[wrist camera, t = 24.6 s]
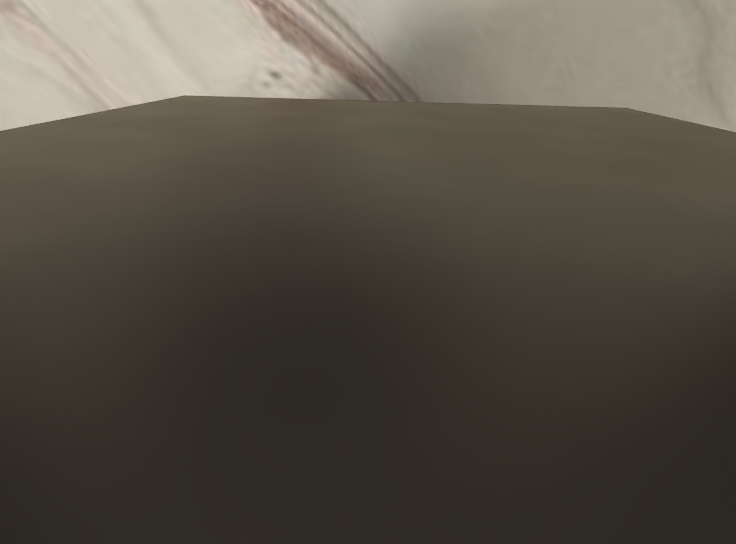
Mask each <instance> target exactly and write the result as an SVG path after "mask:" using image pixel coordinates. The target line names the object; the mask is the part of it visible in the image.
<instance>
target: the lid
mask: <svg viewBox="0 0 736 544" xmlns="http://www.w3.org/2000/svg"><path fill="white" fill-rule="evenodd" d="M0 544H736V132H731V131H727V130H722V129H718V128H713V127H709V126H704V125H700V124H695V123H691V122H686V121H682V120H677V119H673V118H669V117H664V116H660V115H655V114H651V113H646V112H642V111H637V110H633V109H628V108H607V107H571V106H536V105H500V104H465V103H429V102H394V101H359V100H323V99H288V98H252V97H217V96H180V97H175V98H170V99H164V100H159V101H154V102H149V103H144V104H138V105H133V106H128V107H123V108H118V109H112V110H107V111H102V112H97V113H92V114H87V115H81V116H76V117H71V118H66V119H61V120H55V121H50V122H45V123H40V124H35V125H29V126H24V127H19V128H14V129H9V130H3V131H0Z"/></svg>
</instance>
